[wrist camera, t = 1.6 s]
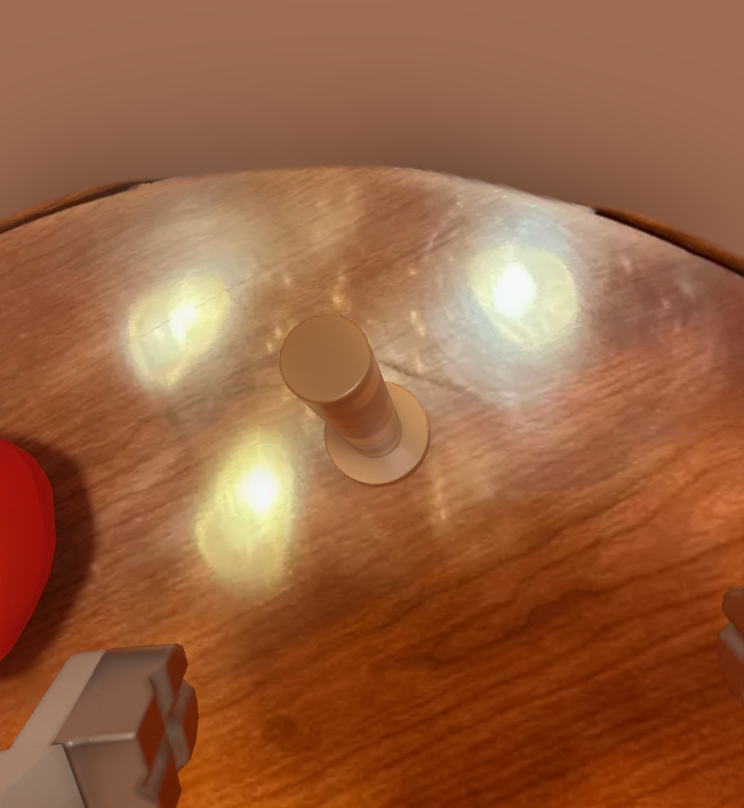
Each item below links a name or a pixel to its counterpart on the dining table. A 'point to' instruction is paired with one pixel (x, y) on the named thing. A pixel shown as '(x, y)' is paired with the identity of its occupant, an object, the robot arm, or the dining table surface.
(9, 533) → the tomato
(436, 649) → the dining table surface
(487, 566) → the dining table surface
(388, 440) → the wooden peg stand
